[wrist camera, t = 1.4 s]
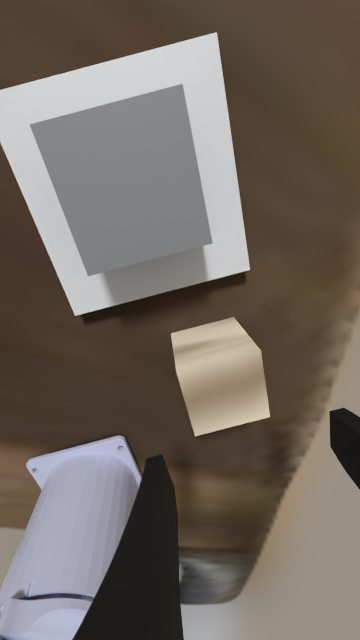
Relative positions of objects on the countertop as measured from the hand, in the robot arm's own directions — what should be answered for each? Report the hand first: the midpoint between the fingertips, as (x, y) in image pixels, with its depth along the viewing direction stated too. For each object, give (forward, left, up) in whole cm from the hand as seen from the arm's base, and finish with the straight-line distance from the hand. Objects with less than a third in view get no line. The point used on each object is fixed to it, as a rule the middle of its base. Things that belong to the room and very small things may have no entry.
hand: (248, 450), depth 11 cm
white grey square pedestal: (+11, +2, -9) cm, 14 cm away
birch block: (0, 0, -9) cm, 9 cm away
